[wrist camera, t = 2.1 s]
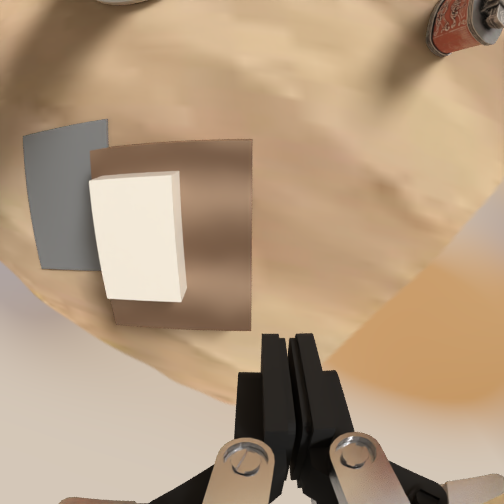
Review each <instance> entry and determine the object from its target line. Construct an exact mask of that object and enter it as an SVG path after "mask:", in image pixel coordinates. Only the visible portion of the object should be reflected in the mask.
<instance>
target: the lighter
mask: <svg viewBox="0 0 504 504" xmlns="http://www.w3.org/2000/svg"><path fill="white" fill-rule="evenodd" d="M503 28H504V0H440V1H439V2H438V3H437V5H436V6H435V8H434V10H433V12H432V14H431V16H430V20H429V23H428V27H427V33H426V44H427V46H428V48H429V49H430V50H431V51H432V52H433V53H434V54H435V55H437V56H440V57H444V56H448V55H450V54H451V53H452V52H455V51H458V50H462V49H465V48H469V47H473V46H477V45H481V44H482V45H492V44H494V43H496V41H497V39H498V37H499V36H500V34H501V32H502V29H503Z"/></svg>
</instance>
